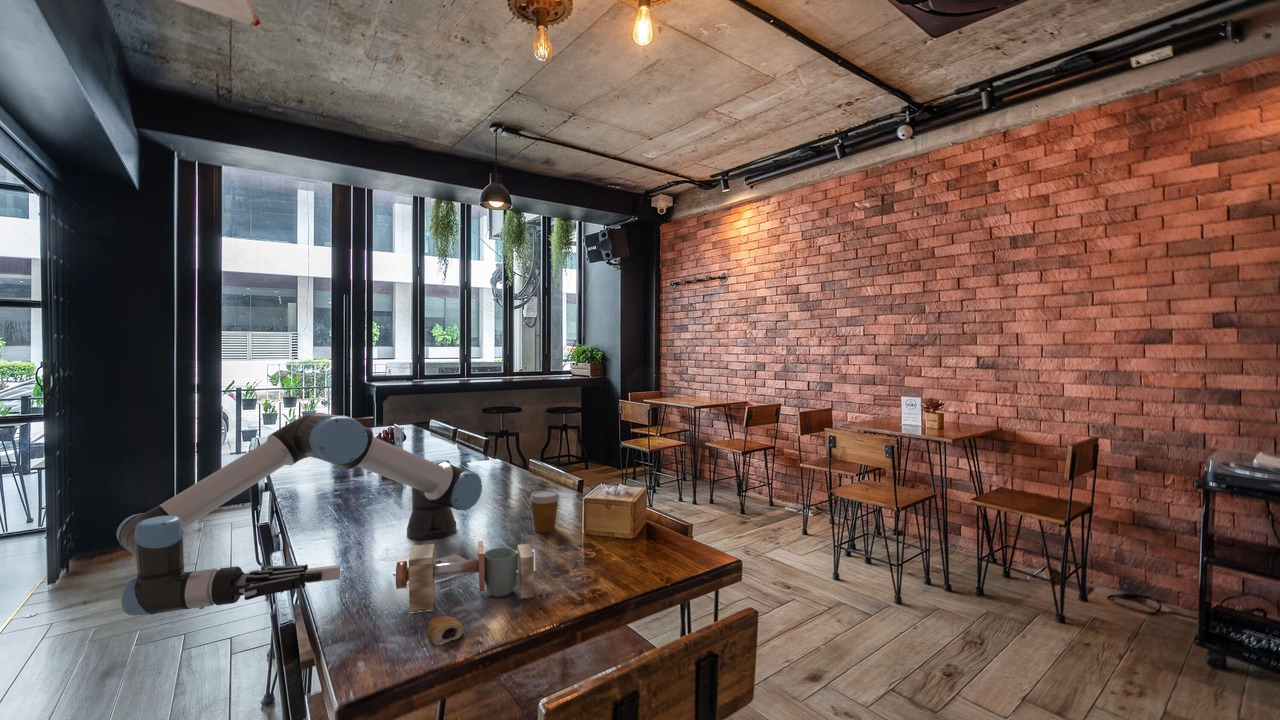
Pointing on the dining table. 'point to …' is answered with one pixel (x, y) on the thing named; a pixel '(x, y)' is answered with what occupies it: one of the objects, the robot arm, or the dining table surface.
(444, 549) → the dining table surface
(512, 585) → the cup
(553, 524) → the disposable coffee cup
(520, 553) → the end block
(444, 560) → the photo frame
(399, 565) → the shaft
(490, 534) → the dining table surface
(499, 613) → the dining table surface
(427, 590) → the bearing block
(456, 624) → the pastry
